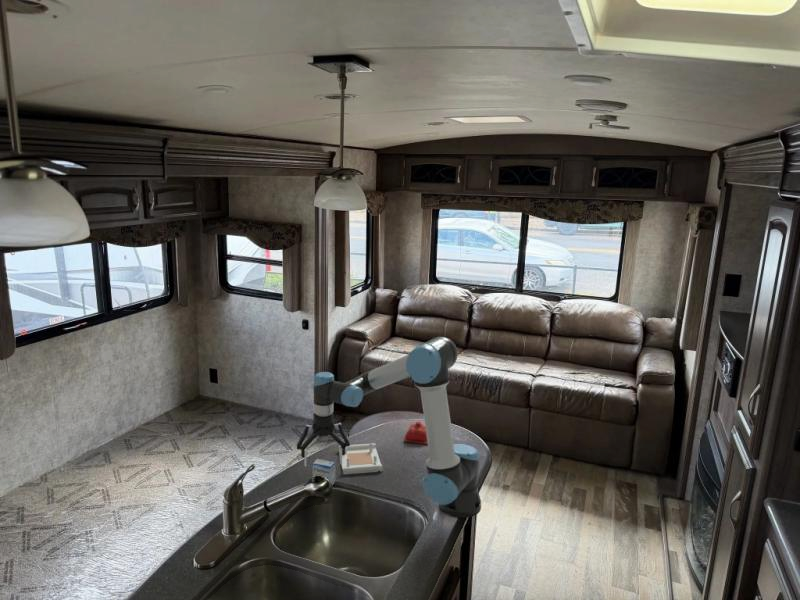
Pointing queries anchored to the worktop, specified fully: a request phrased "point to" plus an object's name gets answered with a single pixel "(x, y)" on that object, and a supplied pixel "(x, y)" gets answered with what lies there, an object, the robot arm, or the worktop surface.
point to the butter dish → (416, 433)
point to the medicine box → (324, 469)
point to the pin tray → (361, 459)
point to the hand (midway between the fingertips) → (323, 463)
